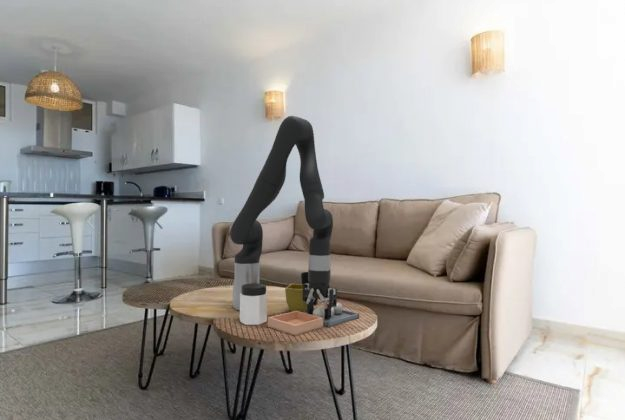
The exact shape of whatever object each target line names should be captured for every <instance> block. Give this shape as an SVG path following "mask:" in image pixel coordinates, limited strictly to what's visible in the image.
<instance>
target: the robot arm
mask: <svg viewBox="0 0 625 420" xmlns="http://www.w3.org/2000/svg"><path fill="white" fill-rule="evenodd" d="M295 146H296V149H297V151H298V154H299V160H300V164H299V165H300V166H299V167H300V168H299V184H300V188H301V192H302V195H303V199H304V216H305V221H306V223H307V225H308V227H310V228H311V230H313V232H312V237H311V238H310V239H309V247H308V248H309V249H308V251H309V253H308V254H309V255H308V261H307V262H308V263H307V265H308V266H307V267H308V268H307V269H308V270H307V272H308V281H309V282H310V284H309V283H306V284H303V301H305V302H306V303H307V310H306V311H307V313H308V314H310V315H313V310H314V309H315V308H314V306H315V305H314V304H313V302H314V300H315V299H316V298H318V300H320V301H321V302H322V303H323V305H324V306H325V314H324V319H325V320H328V319H330V318H331V308H332V307H336V306H337V303H338V289H337V288H331V287H330V283H331V277H332V276H331V265H332V264H331V238H332V233H333V227H334V226H333V225H334V218H333V215H332V212H330V210H328V209H325V208H324V204H323V203H324V202H323V200H324V199H325V193H324V189H323V185H322V184H323V183H322V181H321V176H320V173H319V172H320V171H319V167H318V163H317V154H316V146H315V134H314V128H313V125H312V123H311V122H310V121H309V120H307V119H305V118H302V117H300V116H299V117H298V116H295V115H288V116H286V117H285V118H284V119H283V120H282V122H281V123H280V125H279V127H278V130H277V132H276V136H275V139H274V141H273V144H272V146H271V149H270V151H269V154H268V156H267V157H266V160H265V162H264V165H263V167H262V168H261V170H260V172H259V175H258V176H257V178H256V180H255V183H254V185H253V187H252V189H251V191H250V193H249V195H248V197H247V199H246V201H245V203H244V205H243V207H242V208H241V210H240V211H239V214H238V215H237V216H236V218H235V219H234V221H233V222H232V225H231V228H230V239H231V241H232V242H233V243H234V244H235V245H241V246H242V248H241V250H240V251H239V252H237V253H236V254H235V256H234V281H233V282H232V307H233V309H234V310H235V311H240V293H241V286H242V285H244V284H251V283H258V284H260V258H261V256H262V251H263V242H264V241H263V240H264V239H263V237H264V231H263V227H262V224H261V222H260V221H258V220H257V219H258V218H259V216H260V215H261V213H262V212H264V211H265V210H266V209H267V208H268V207H269V206H270V205H271V204H272V203H273V202H274V201H275V200H276V199H277V197H278V196H279V193H281V190H282V187H283V186H284V184H285V181H286V176H287V162H288V160H289V157H290V155H291V152H292V150H293V148H294V147H295ZM306 294H307V297H306ZM324 306H323V307H324Z"/></svg>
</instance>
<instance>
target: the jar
mask: <svg viewBox="0 0 625 420" xmlns="http://www.w3.org/2000/svg"><path fill="white" fill-rule="evenodd" d="M239 322H240V323H242V324H243V325H245V326H260V325H262V324H264V323H266V322H267V323H268V293H267V285H266V284H263V283H259V284H258V283H251V284H244V285H242V286H241V293H240V310H239Z"/></svg>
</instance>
